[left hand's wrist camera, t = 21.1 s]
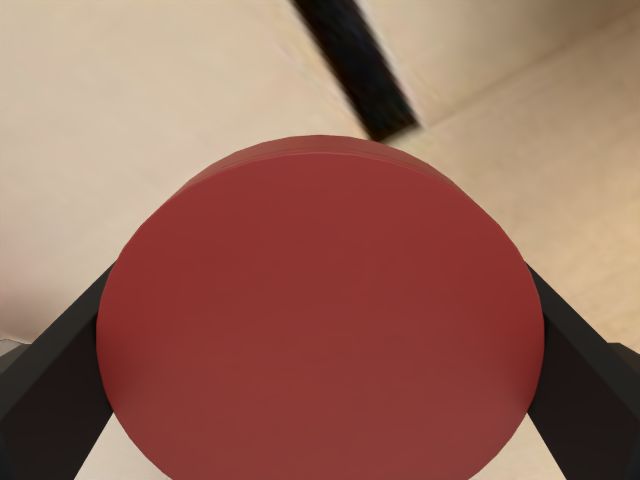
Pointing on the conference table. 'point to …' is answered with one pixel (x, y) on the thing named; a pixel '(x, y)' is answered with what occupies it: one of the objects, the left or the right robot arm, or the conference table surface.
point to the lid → (320, 321)
